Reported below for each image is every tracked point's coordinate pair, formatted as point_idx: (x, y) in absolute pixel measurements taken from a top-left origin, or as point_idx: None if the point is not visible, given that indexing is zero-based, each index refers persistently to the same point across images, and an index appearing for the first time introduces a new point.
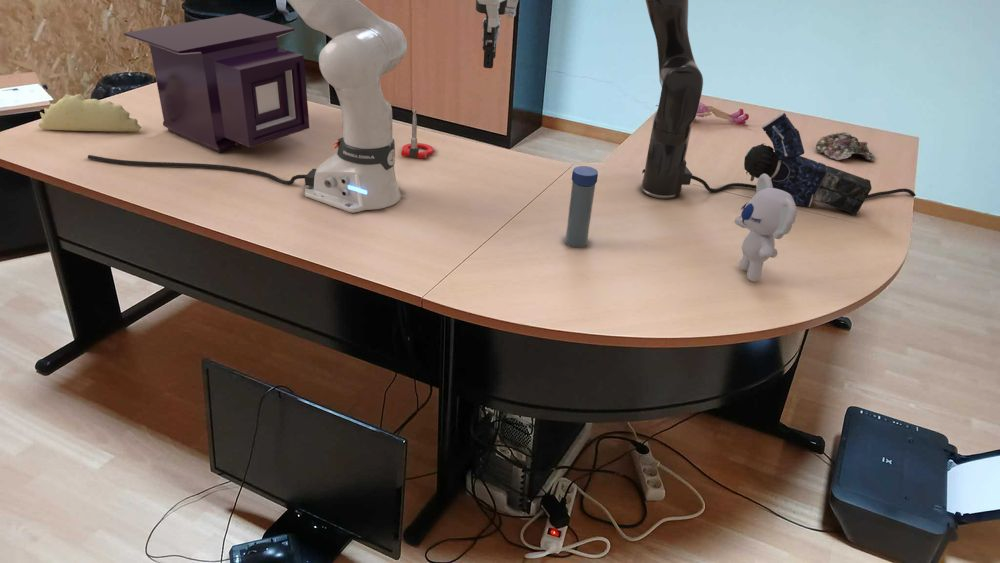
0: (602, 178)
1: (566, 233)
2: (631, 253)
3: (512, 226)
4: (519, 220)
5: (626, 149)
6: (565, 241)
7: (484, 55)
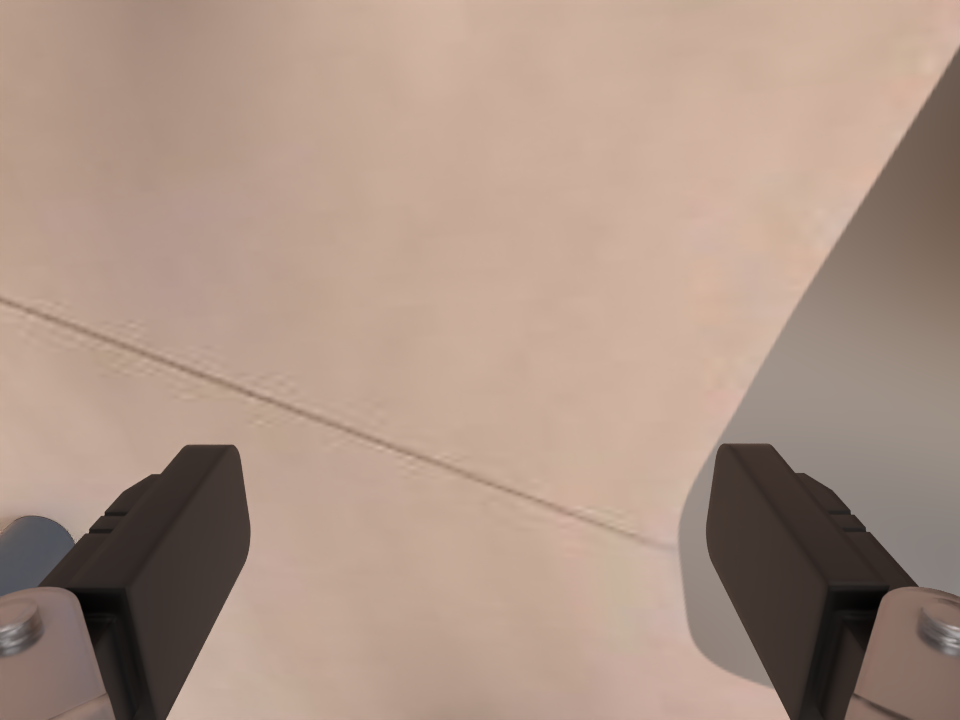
0: (558, 634)
1: (6, 535)
2: None
3: (71, 353)
4: (128, 375)
5: None
6: (24, 518)
7: (107, 548)
